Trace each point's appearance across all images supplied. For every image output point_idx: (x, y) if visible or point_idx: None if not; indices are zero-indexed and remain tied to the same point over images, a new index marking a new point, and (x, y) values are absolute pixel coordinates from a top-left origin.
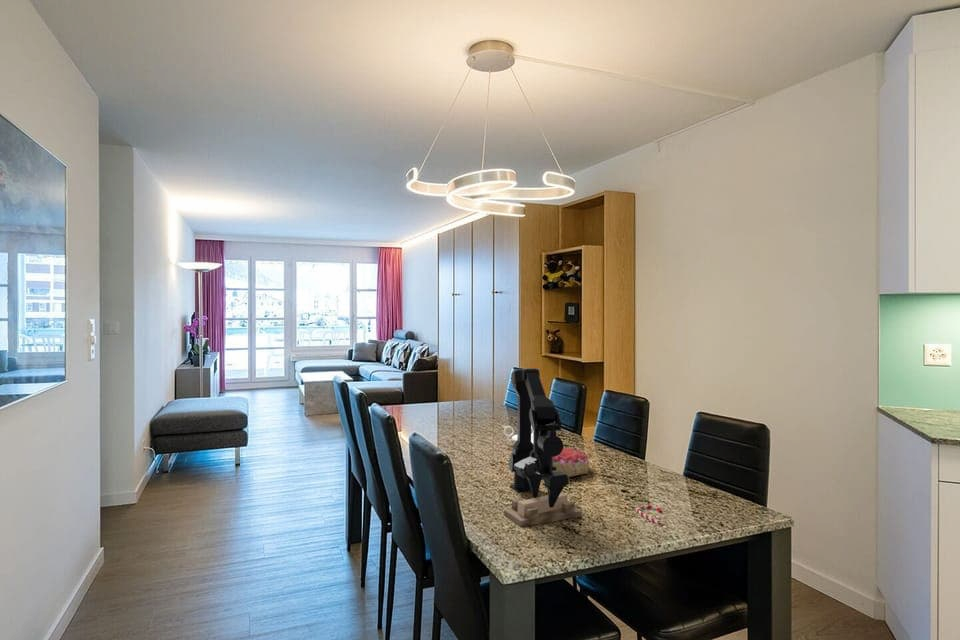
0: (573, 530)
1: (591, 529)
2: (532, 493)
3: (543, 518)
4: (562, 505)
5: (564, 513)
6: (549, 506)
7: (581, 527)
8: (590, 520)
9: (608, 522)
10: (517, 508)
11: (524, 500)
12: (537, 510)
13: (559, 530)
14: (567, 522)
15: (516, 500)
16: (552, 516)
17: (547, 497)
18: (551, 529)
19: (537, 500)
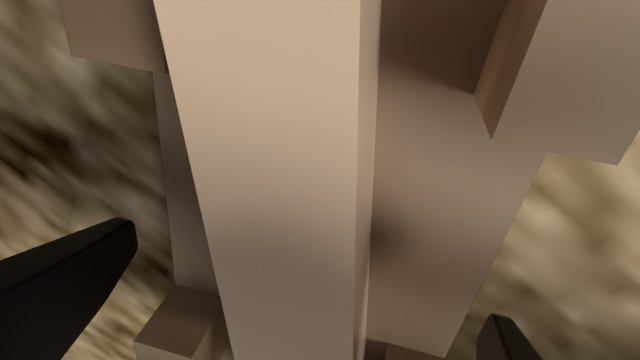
0: (2, 155)
1: (10, 240)
2: (524, 358)
3: (161, 94)
4: (194, 337)
5: (182, 282)
6: (119, 220)
7: (45, 224)
8: (133, 324)
9: (88, 350)
10: None
11: (342, 40)
12: (81, 40)
13: (9, 76)
14: (139, 224)
15: (615, 23)
16: (167, 184)
17: (282, 357)
18: (34, 36)
19: (235, 211)
